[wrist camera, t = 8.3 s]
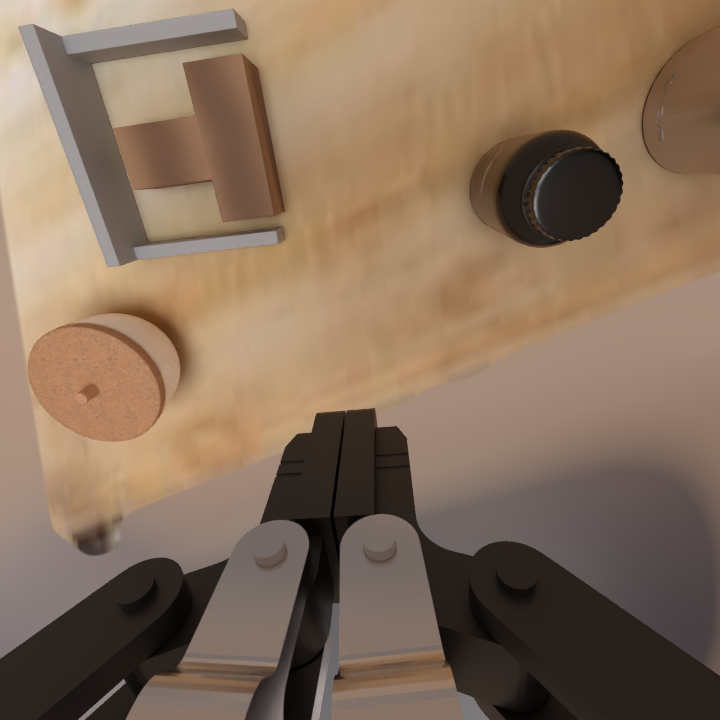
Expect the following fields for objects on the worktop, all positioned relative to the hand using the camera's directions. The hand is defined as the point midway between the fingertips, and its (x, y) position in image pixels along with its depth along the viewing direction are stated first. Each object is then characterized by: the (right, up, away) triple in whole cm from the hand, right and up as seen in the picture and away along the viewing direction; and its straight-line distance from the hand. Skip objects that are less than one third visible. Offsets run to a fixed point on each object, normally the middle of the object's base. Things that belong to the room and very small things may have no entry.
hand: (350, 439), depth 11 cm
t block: (-12, +19, +22) cm, 31 cm away
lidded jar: (-21, +3, +29) cm, 36 cm away
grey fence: (-14, +19, +22) cm, 32 cm away
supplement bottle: (+12, +16, +22) cm, 30 cm away
